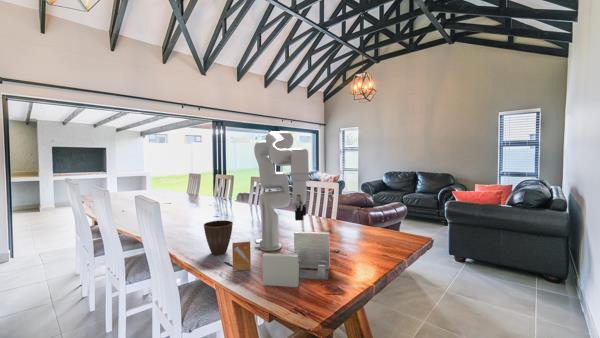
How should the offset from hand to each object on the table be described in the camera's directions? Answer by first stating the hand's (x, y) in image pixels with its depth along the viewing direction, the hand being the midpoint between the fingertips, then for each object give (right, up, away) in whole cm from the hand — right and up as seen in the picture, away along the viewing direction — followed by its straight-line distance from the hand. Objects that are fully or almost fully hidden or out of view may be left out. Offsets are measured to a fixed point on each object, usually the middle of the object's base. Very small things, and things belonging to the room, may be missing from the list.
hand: (300, 217), depth 119 cm
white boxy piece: (+4, -25, +3) cm, 25 cm away
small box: (-27, -25, +10) cm, 38 cm away
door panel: (-8, -25, -8) cm, 28 cm away
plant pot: (-44, -25, +31) cm, 59 cm away
